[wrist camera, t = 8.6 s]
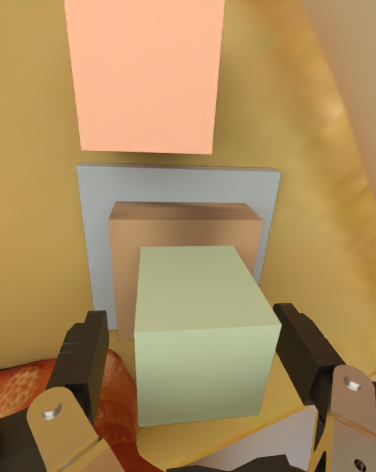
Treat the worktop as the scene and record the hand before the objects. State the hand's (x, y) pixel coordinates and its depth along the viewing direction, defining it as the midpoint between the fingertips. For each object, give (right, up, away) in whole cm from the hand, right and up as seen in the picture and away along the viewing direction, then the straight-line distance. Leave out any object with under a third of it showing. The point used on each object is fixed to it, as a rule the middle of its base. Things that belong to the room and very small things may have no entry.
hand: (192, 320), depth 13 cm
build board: (-1, +3, +6) cm, 7 cm away
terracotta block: (-2, +12, +2) cm, 12 cm away
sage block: (0, +1, +3) cm, 3 cm away
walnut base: (-1, +2, +5) cm, 6 cm away
